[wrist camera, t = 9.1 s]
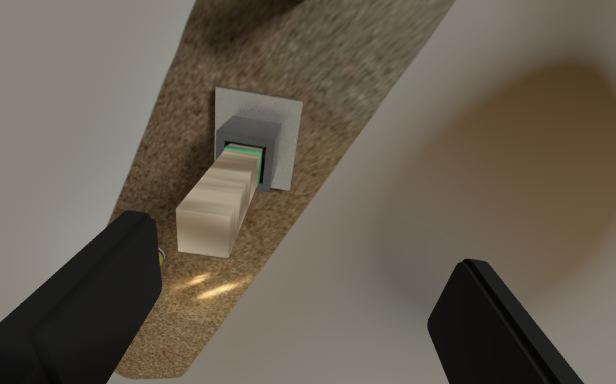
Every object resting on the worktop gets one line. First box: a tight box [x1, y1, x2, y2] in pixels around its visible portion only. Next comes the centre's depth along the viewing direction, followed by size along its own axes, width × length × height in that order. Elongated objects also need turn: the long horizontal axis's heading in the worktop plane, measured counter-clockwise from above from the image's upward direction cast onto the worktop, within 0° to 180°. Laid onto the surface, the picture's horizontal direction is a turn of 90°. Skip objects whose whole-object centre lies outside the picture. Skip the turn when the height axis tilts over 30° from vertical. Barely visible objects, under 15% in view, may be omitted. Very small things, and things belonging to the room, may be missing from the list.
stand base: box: [215, 85, 303, 192], centre depth 40 cm, size 14×12×10 cm
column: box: [176, 143, 263, 258], centre depth 29 cm, size 4×4×16 cm
